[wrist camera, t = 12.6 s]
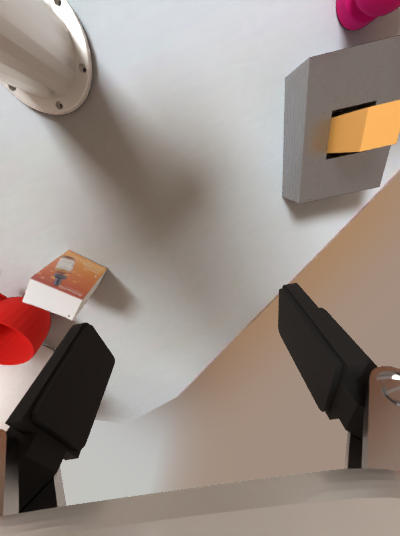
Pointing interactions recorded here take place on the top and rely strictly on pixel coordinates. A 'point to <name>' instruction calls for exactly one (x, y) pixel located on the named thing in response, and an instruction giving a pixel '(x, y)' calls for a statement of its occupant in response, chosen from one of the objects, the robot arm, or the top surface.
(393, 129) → the wedge peg
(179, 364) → the top surface
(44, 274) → the small box
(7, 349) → the ceramic cup
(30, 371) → the pitcher
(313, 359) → the robot arm
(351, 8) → the pepper mill
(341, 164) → the socket block
